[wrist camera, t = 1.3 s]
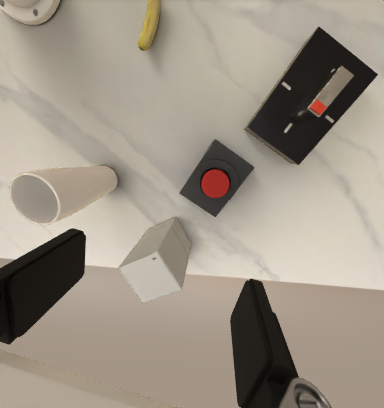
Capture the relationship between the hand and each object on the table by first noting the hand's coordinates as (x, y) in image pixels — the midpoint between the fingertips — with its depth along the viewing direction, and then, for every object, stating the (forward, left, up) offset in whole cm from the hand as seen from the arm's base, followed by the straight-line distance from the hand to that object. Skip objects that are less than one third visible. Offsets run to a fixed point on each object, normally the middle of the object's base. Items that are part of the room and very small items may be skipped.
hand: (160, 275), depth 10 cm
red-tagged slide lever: (-8, +18, -22) cm, 30 cm away
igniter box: (0, +3, -25) cm, 25 cm away
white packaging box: (+10, -9, -25) cm, 28 cm away
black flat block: (-8, +18, -25) cm, 32 cm away
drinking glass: (-5, -18, -25) cm, 31 cm away
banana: (-25, -1, -25) cm, 36 cm away
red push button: (0, +3, -21) cm, 22 cm away
